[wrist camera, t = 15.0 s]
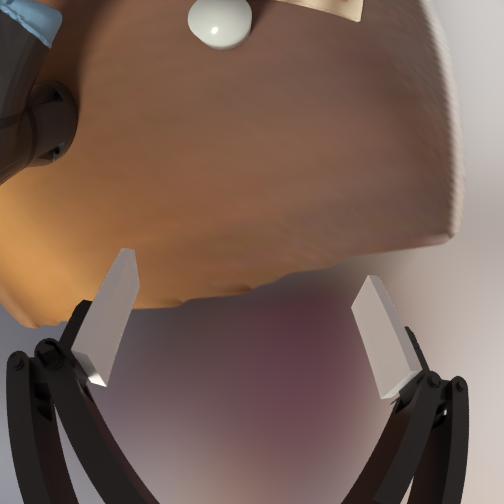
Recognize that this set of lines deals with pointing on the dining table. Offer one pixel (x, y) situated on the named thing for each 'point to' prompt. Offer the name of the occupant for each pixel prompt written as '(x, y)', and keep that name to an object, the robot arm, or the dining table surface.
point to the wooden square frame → (334, 7)
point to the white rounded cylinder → (221, 22)
